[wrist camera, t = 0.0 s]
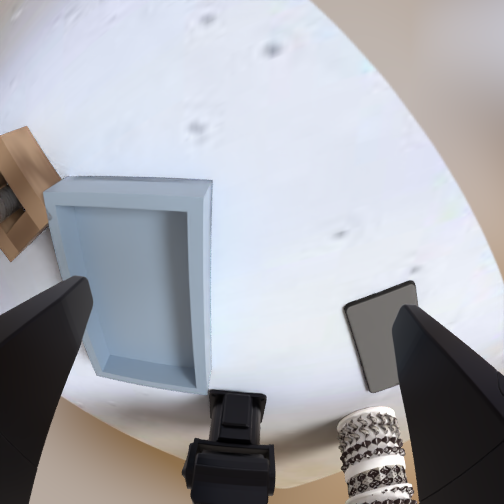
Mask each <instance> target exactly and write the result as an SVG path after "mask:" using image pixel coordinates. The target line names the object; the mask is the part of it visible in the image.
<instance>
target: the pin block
mask: <svg viewBox="0 0 504 504" xmlns="http://www.w3.org/2000/svg"><path fill="white" fill-rule="evenodd" d="M61 180H62V179H61V178H60V177H59V175H58V174H57V172H56V171H55V169H54V168H53V166H52V165H51V163H50V162H49V160H48V159H47V157H46V156H45V154H44V152H43V151H42V149H41V148H40V146H39V145H38V143H37V141H36V140H35V138H34V137H33V135H32V133H31V132H30V130H29V128H28V127H27V126H26V127H23V128H20V129H17V130H14V131H11V132H8V133H6V134H3V135H0V189H1V188H3V187H5V186H6V185H7V183H8V184H9V186H10V188H11V189H12V191H13V192H14V194H15V195H16V197H17V198H18V200H19V201H20V203H21V204H22V206H23V207H24V208H25V210H26V211H25V212H24V210H23V209H22V208H20V209H19V210H17V211H16V212H15V213H13V214H12V215H11V216H9V217H8V218H6V219H5V220H4V221H3V222H1V223H0V248H1V250H2V251H3V253H4V254H5V255H6V257H7V258H8V259H9V261H10V262H12V261H13V260H14V259H15V258H16V257H17V256H18V255H19V254H20V253H21V252H22V251H23V250H24V249H25V248H26V247H27V246H28V245H30V244H31V243H32V242H33V241H34V240H35V238H36V237H37V236H38V235H39V234H40V233H41V232H42V231H43V230H44V229H45V228H46V227H47V226H48V225H49V223H48V221H49V220H50V219H49V220H48V218H47V217H48V216H51V215H50V214H48V216H47V213H46V212H49V211H46V207H45V202H44V196H43V192H44V191H45V190H47V189H48V188H50V187H52V186H53V185H55V184H56V183H58V182H59V181H61ZM49 218H50V217H49Z"/></svg>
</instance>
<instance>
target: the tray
mask: <svg viewBox="0 0 504 504" xmlns="http://www.w3.org/2000/svg"><path fill="white" fill-rule="evenodd" d="M212 181H213V180H200V179H181V178H157V177H113V176H75V177H66V178H64V179H63V180H61V181H59V182H58V183H56V184H55V185H53V186H52V187H50V188H48V189H47V190H45V191H44V192H43V196H44V202H45V207H46V211H49V212H46V213H47V216H48V214H50V215H51V216H48V217H47V218H48V220H49V219H50V220H49V221H48V223H49V228H50V233H51V237H52V242H53V246H54V250H55V254H56V258H57V262H58V266H59V270H60V273H61V277H62V281H64V280H66V279H68V278H70V277H72V276H74V275H77V276H84V277H86V278H87V279H88V281H89V285H90V289H91V293H92V297H93V308H92V311H91V314H90V317H89V320H88V323H87V326H86V329H85V332H84V336H83V339H82V341H83V344H84V346H85V349H86V351H87V354H88V356H89V359H90V361H91V364H92V366H93V368H94V371H95V373H96V375H97V376H100V377H105V378H109V379H113V380H118V381H123V382H127V383H132V384H137V385H142V386H148V387H153V388H159V389H165V390H171V391H178V392H185V393H192V394H200V395H207V393H208V387H209V381H210V375H211V369H212V366H211V217H212ZM49 217H50V218H49Z"/></svg>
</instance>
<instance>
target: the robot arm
mask: <svg viewBox="0 0 504 504" xmlns="http://www.w3.org/2000/svg"><path fill="white" fill-rule="evenodd" d="M92 308H93V297H92V293H91V289H90V285H89V281H88V279H87V278H86V277H84V276H77V275H74V276H72V277H70V278H68V279H66V280H64V281H62V282H60V283H58V284H56V285H55V286H53V287H51V288H49V289H47V290H45V291H43V292H41V293H40V294H38V295H36V296H34V297H32V298H30V299H29V300H27V301H25V302H23V303H21V304H20V305H18V306H16V307H14V308H12V309H11V310H9V311H7V312H5V313H4V314H2V315H0V504H29V500H30V496H31V491H32V488H33V484H34V479H35V476H36V472H37V467H38V464H39V460H40V457H41V454H42V450H43V447H44V444H45V440H46V437H47V434H48V431H49V428H50V425H51V422H52V419H53V416H54V413H55V410H56V407H57V405H58V402H59V399H60V396H61V394H62V391H63V388H64V386H65V383H66V381H67V378H68V375H69V373H70V370H71V368H72V366H73V363H74V361H75V358H76V356H77V353H78V351H79V348H80V345H81V342H82V339H83V336H84V332H85V329H86V326H87V323H88V320H89V317H90V314H91V311H92ZM392 339H393V345H394V352H395V360H396V368H397V375H398V380H399V385H400V389H401V394H402V399H403V403H404V408H405V413H406V418H407V423H408V429H409V434H410V440H411V446H412V452H413V458H414V465H415V472H416V480H417V487H418V496H419V504H504V376H503V375H502V374H501V373H500V372H499V371H497V370H496V369H495V368H494V367H493V366H492V365H490V364H489V363H488V362H487V361H486V360H484V359H483V358H482V357H481V356H480V355H478V354H477V353H476V352H475V351H474V350H472V349H471V348H470V347H469V346H467V345H466V344H465V343H464V342H463V341H461V340H460V339H459V338H458V337H456V336H455V335H454V334H453V333H451V332H450V331H449V330H448V329H446V328H445V327H444V326H443V325H441V324H440V323H439V322H437V321H436V320H435V319H434V318H432V317H431V316H430V315H428V314H427V313H426V312H425V311H423V310H422V309H421V308H419V307H418V306H417V305H415V304H403V305H402V306H401V307H400V309H399V311H398V314H397V316H396V318H395V321H394V323H393V326H392ZM209 398H210V418H211V419H212V420H211V427H210V434H209V440H201V439H199V438H195V439H194V443H191V444H190V445H189V451H188V456H187V459H186V461H185V464H184V467H183V470H182V475H183V476H184V478H185V480H186V484H187V488H188V489H191V499H192V502H193V504H267V503H268V496H272V495H273V493H274V489H275V457H274V445H270V444H269V445H260V423H261V422H262V419H263V414H264V409H265V405H266V400H267V397H266V395H263V394H248V393H236V392H225V391H216V390H212V391H210V394H209Z"/></svg>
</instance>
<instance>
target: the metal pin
mask: <svg viewBox="0 0 504 504" xmlns="http://www.w3.org/2000/svg"><path fill="white" fill-rule="evenodd" d="M22 207H23V206H22V204H21V203H20V201H19V200H18V198H17V197H16V195H15V194H14V192H13V191H12V189H11V188H10V186H9V184H8V185H6V186H5V187H3V188H1V189H0V223H1V222H3V221H4V220H5V219H6V218H8V217H9V216H11V215H12V214H13V213H15V212H16V211H17V210H19V209H20V208H22Z"/></svg>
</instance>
